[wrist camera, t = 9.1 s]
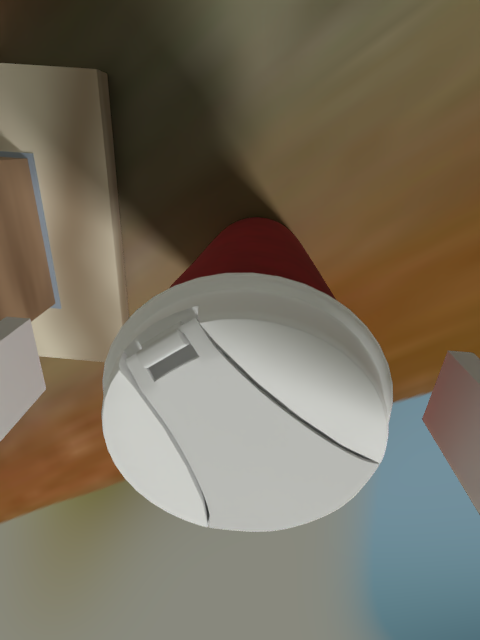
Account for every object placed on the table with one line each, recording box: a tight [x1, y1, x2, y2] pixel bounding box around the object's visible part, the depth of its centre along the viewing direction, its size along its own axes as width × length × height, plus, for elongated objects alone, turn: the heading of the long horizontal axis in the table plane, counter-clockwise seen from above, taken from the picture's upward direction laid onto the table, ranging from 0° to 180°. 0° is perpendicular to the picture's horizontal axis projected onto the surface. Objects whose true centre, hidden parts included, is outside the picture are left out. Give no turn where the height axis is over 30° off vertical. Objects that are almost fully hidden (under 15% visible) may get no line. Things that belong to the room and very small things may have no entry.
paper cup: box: [102, 217, 393, 532], centre depth 15 cm, size 8×8×14 cm
